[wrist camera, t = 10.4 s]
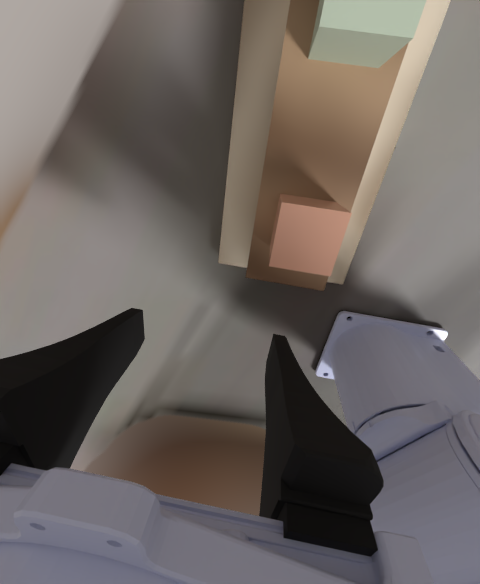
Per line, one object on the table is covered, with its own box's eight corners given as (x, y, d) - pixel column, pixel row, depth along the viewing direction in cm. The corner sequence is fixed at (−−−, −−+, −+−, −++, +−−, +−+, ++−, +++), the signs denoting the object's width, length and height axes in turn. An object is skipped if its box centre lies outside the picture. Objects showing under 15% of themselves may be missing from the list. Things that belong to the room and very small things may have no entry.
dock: (458, -53, 12) (480, -79, 11) (338, 276, 21) (342, 284, 20) (256, -76, 13) (254, -104, 11) (221, 256, 21) (218, 262, 20)
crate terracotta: (336, 202, 13) (352, 213, 11) (320, 255, 15) (330, 276, 12) (280, 193, 13) (281, 202, 11) (269, 247, 15) (268, 266, 12)
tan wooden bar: (303, -65, 12) (316, -161, 8) (411, -52, 11) (472, -145, 8) (250, 255, 19) (245, 277, 16) (314, 266, 19) (323, 291, 16)
